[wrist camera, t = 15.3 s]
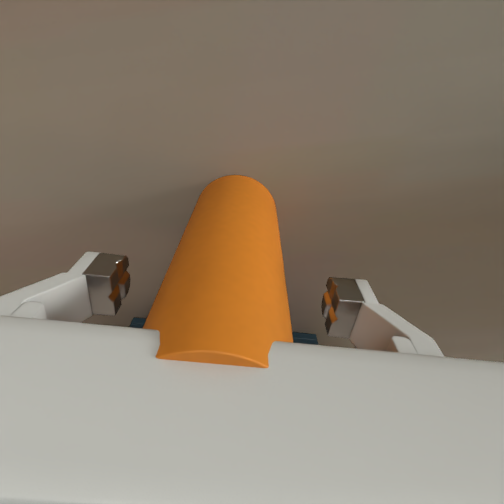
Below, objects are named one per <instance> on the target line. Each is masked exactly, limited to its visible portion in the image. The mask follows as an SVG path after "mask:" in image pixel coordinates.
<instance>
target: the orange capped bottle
mask: <svg viewBox="0 0 504 504" xmlns="http://www.w3.org/2000/svg"><path fill="white" fill-rule="evenodd" d="M142 329H153V330H158V331H159V332H160V346H159V349H158V351H157V354H156V358H157V359H165V360H177V361H188V362H199V363H211V364H222V365H233V366H244V367H256V368H268V367H269V363H268V353H269V351H270V348H271V345H272V343H273V342H274V341H282V342H292V343H293V335H292V328H291V320H290V312H289V305H288V297H287V289H286V282H285V274H284V266H283V259H282V251H281V243H280V236H279V228H278V220H277V213H276V206H275V202H274V200H273V198H272V196H271V194H270V193H269V191H268V190H267V189H266V188H265V187H264V186H263V185H262V184H261V183H259V182H258V181H256V180H254V179H252V178H249V177H246V176H241V175H229V176H224V177H221V178H218V179H216V180H215V181H213V182H211V183H210V184H209V185H208V186H207V187H206V188H205V189H204V190H203V191H202V193H201V195H200V197H199V199H198V201H197V204H196V206H195V208H194V211H193V213H192V215H191V217H190V220H189V222H188V224H187V227H186V229H185V231H184V234H183V236H182V238H181V241H180V243H179V245H178V248H177V250H176V252H175V254H174V257H173V259H172V261H171V264H170V266H169V268H168V271H167V273H166V275H165V278H164V280H163V282H162V285H161V287H160V289H159V291H158V294H157V296H156V298H155V301H154V303H153V305H152V308H151V310H150V312H149V315H148V317H147V319H146V322H145V324H144V326H143V328H142Z"/></svg>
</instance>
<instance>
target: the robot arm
mask: <svg viewBox="0 0 504 504" xmlns="http://www.w3.org/2000/svg"><path fill="white" fill-rule="evenodd" d="M128 266H129V261H128V257H127V256H123V255H115V254H107V253H100V252H86V253H85V254H84V255H83V256H82V257H81V258H80V259H79V260H78V261H77V262H76V264H75V265H74V266H73V267H72V268H71V269H70V270H69V271H68V272H67V273H60V274H58V275H55V276H53V277H50V278H47V279H45V280H42V281H39V282H37V283H34V284H32V285H29V286H26V287H24V288H21V289H18V290H16V291H13V292H11V293H8V294H5V295H3V296H0V504H504V362H496V361H485V360H474V359H463V358H453V357H444V355H443V353H442V352H441V350H440V349H439V347H438V346H437V344H436V342H435V341H434V339H433V338H431V337H430V336H428V335H427V334H425V333H424V332H422V331H421V330H419V329H418V328H417V327H415V326H414V325H412V324H411V323H409V322H408V321H406V320H405V319H403V318H402V317H400V316H399V315H398V314H396V313H395V312H393V311H392V310H390V309H389V308H387V307H386V306H384V305H383V304H379V303H378V301H377V299H376V297H375V295H374V293H373V291H372V289H371V287H370V285H369V283H368V281H367V280H362V279H347V278H334V277H329V279H328V281H327V284H326V287H327V290H328V291H327V292H326V293H324V295H323V299H322V306H321V308H322V315H323V317H324V318H325V319H326V322H325V327H326V330H327V334H328V336H332V337H340V338H349V340H350V341H351V342H352V343H353V344H354V346H355V347H356V348H346V347H335V346H325V345H314V344H303V343H292V342H282V341H274V342H273V343H272V345H271V348H270V351H269V353H268V363H269V367H268V368H256V367H244V366H233V365H222V364H211V363H199V362H188V361H177V360H165V359H157V358H156V354H157V351H158V349H159V346H160V332H159V331H158V330H153V329H142V328H132V327H121V326H110V325H100V324H89V323H82V322H83V321H85V320H86V319H88V318H89V317H91V316H92V314H96V315H110V316H115V315H116V313H117V311H118V310H119V308H120V306H121V299H123V298H125V297H126V296H127V294H128V291H129V287H130V274H129V273H128V272H127V271H126V269H127V268H128Z"/></svg>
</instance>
